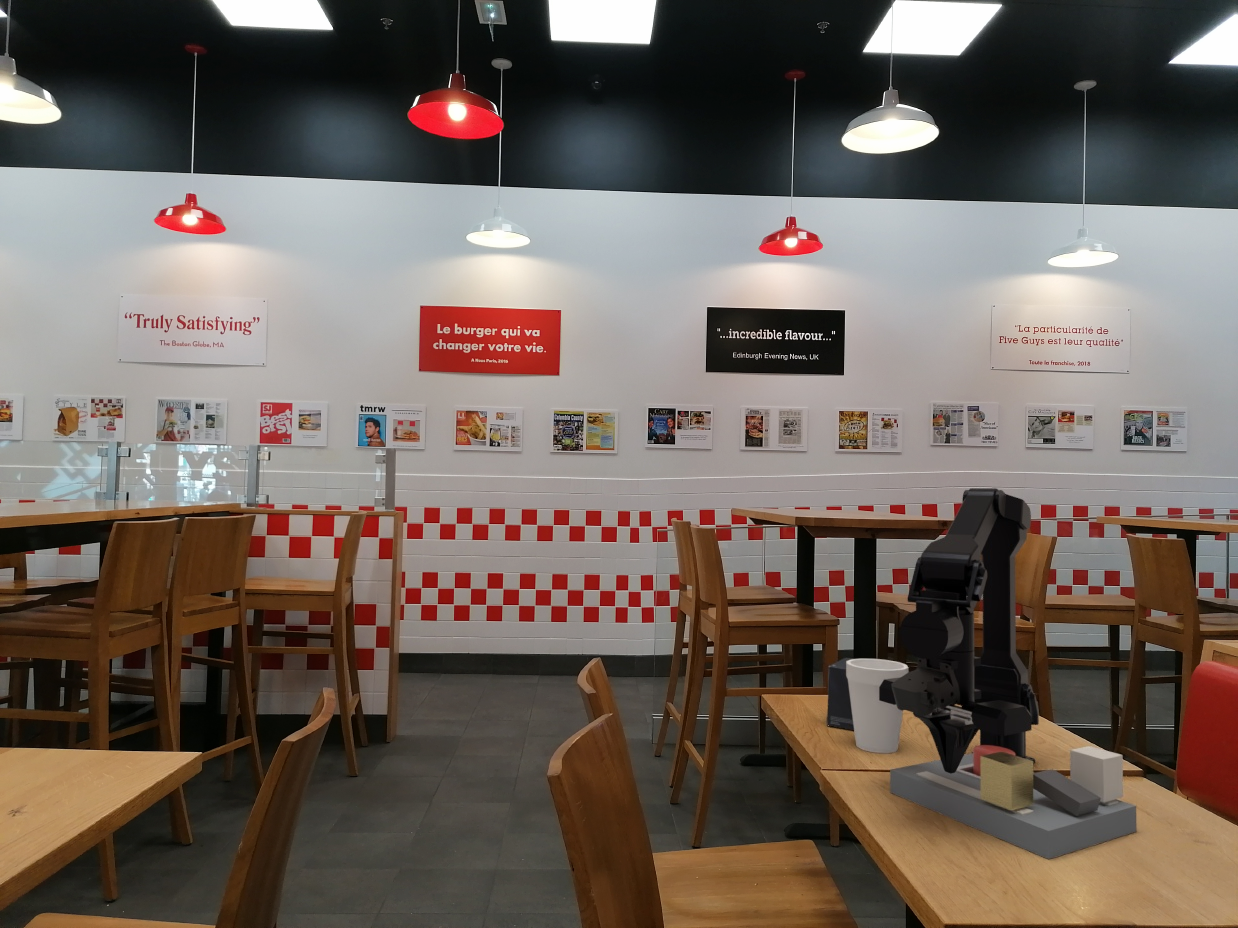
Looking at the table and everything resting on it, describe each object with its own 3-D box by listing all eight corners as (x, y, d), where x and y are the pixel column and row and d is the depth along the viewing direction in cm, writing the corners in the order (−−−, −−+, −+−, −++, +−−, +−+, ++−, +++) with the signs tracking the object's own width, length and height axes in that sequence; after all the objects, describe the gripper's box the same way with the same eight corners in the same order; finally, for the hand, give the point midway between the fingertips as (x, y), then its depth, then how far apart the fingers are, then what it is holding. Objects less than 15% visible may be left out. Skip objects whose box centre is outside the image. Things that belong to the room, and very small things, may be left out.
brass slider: (1002, 793, 95) (1002, 751, 95) (1033, 804, 92) (1033, 760, 92) (980, 798, 93) (980, 755, 93) (1011, 810, 90) (1011, 765, 90)
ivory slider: (1089, 786, 98) (1089, 745, 98) (1123, 796, 95) (1122, 754, 95) (1070, 791, 96) (1070, 749, 97) (1103, 802, 93) (1103, 759, 93)
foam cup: (912, 758, 119) (912, 672, 120) (848, 753, 121) (849, 668, 122) (902, 740, 128) (902, 660, 129) (844, 735, 130) (844, 656, 131)
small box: (863, 733, 132) (864, 670, 133) (825, 726, 136) (826, 665, 136) (879, 719, 141) (879, 660, 142) (843, 713, 145) (843, 656, 145)
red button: (989, 785, 106) (989, 743, 107) (1024, 798, 102) (1023, 753, 102) (965, 791, 104) (965, 747, 104) (999, 804, 100) (999, 758, 100)
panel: (974, 774, 112) (974, 750, 113) (1136, 831, 93) (1136, 802, 93) (890, 792, 104) (890, 767, 105) (1048, 859, 85) (1048, 828, 85)
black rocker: (1049, 780, 96) (1052, 768, 96) (1097, 809, 91) (1100, 797, 91) (1028, 785, 94) (1032, 773, 94) (1076, 815, 89) (1080, 803, 89)
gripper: (849, 640, 104) (849, 759, 104) (972, 667, 88) (973, 808, 87) (907, 635, 110) (907, 748, 109) (1033, 659, 94) (1034, 792, 93)
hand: (950, 772), depth 99 cm, fingers closed
